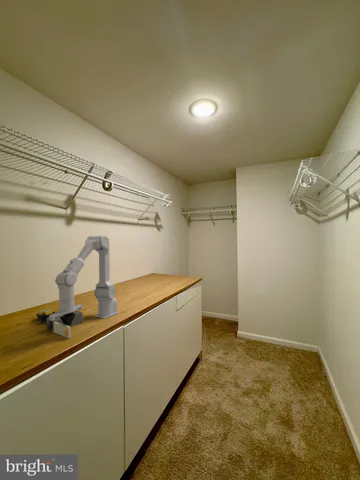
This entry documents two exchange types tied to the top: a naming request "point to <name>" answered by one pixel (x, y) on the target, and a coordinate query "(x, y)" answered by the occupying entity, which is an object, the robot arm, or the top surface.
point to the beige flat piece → (62, 329)
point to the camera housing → (49, 323)
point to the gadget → (44, 315)
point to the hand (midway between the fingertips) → (67, 330)
